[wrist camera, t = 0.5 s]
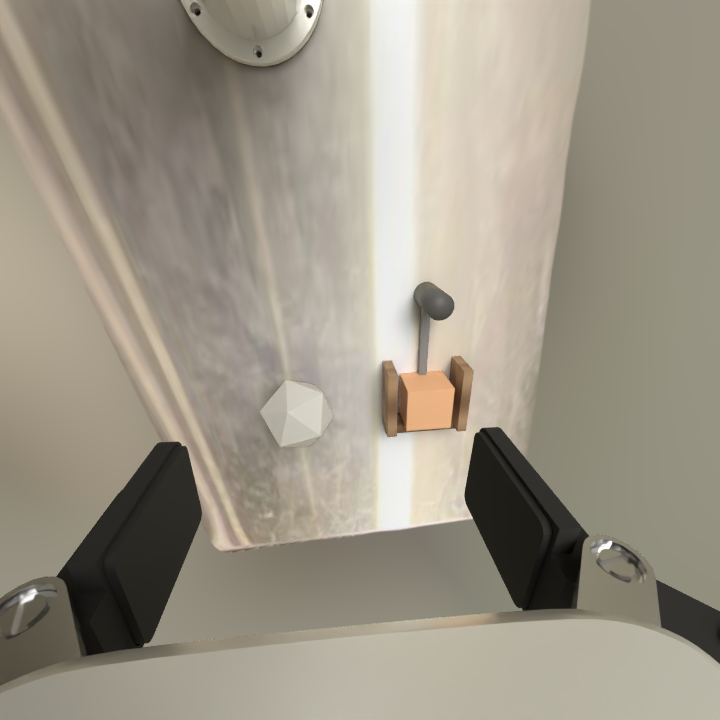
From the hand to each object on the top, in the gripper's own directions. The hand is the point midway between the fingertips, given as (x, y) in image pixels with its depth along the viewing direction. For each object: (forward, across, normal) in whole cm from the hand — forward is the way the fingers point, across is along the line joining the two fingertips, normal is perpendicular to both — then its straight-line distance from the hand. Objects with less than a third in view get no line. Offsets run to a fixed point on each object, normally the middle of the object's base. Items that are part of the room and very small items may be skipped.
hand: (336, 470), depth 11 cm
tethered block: (+33, -12, +9) cm, 36 cm away
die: (+33, +4, +16) cm, 37 cm away
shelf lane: (+33, -12, +15) cm, 38 cm away
